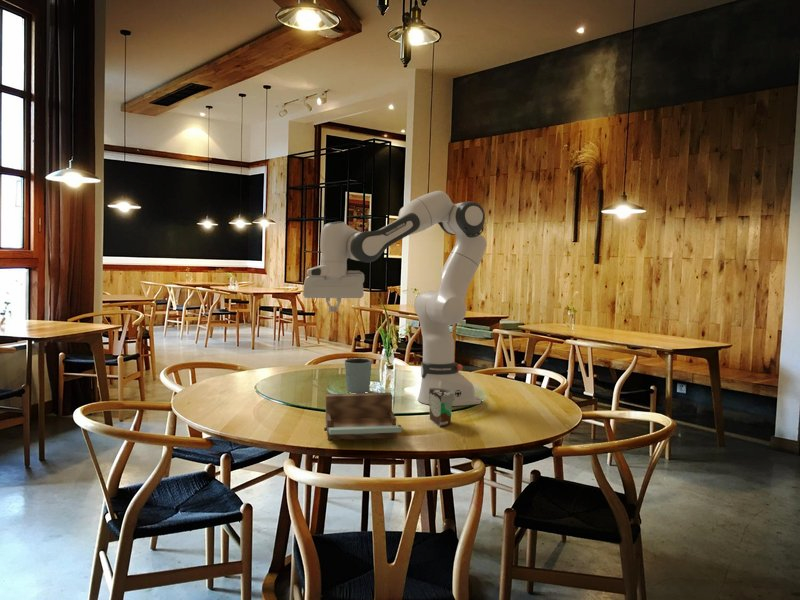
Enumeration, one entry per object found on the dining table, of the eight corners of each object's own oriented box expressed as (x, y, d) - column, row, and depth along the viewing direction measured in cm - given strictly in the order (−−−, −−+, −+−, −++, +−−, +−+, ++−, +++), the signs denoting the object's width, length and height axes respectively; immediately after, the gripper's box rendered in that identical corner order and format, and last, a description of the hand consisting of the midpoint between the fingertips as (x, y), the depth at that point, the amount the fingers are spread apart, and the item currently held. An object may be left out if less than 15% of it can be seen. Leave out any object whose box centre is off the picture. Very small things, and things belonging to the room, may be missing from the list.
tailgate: (396, 425, 189) (401, 427, 180) (396, 431, 189) (401, 433, 180) (328, 427, 186) (330, 430, 177) (328, 433, 186) (330, 436, 177)
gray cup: (373, 389, 251) (373, 358, 250) (369, 395, 241) (369, 363, 240) (347, 388, 252) (347, 357, 251) (342, 394, 242) (342, 362, 241)
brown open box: (393, 424, 204) (393, 392, 203) (400, 438, 189) (401, 404, 188) (322, 426, 200) (322, 394, 199) (324, 440, 186) (324, 406, 185)
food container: (460, 427, 201) (460, 395, 200) (441, 428, 199) (441, 396, 198) (446, 417, 213) (446, 386, 212) (428, 418, 211) (428, 387, 210)
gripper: (363, 270, 224) (363, 310, 225) (302, 269, 220) (302, 310, 221) (365, 271, 217) (365, 312, 219) (303, 270, 214) (303, 312, 215)
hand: (333, 311), depth 220 cm, fingers closed
